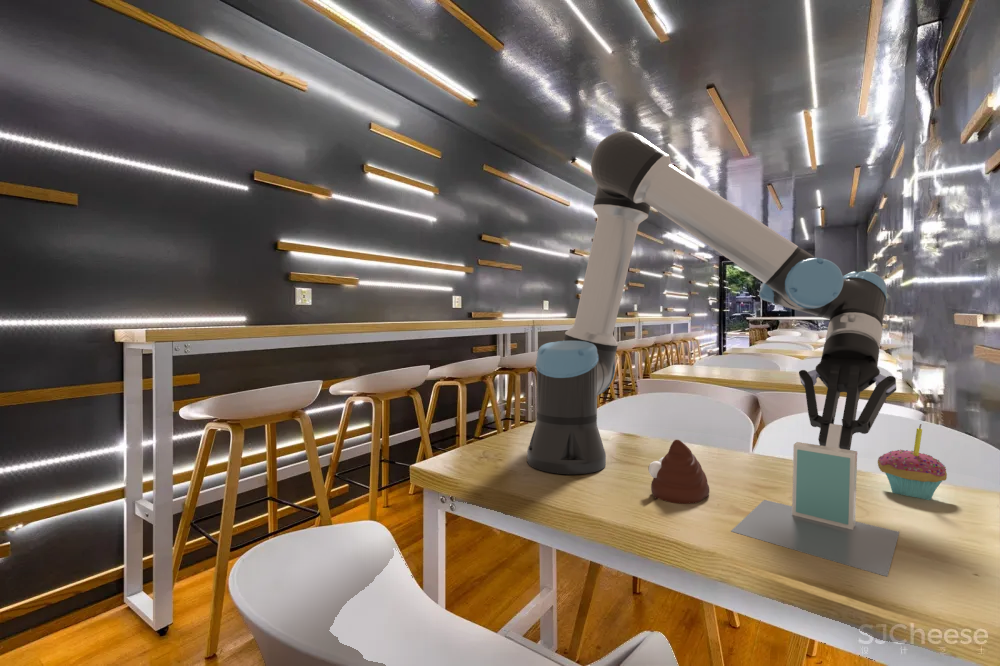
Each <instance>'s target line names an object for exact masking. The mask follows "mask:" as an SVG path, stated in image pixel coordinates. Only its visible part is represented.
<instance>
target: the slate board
mask: <svg viewBox="0 0 1000 666" xmlns="http://www.w3.org/2000/svg"><path fill="white" fill-rule="evenodd" d="M730 532H731V533H735V534H738V535H741V536H745V537H747V538H748V537H749V538H753V539H755V540H758V541H763V542H765V543H770V544H773V545H777V546H780V547H783V548H787V549H790V550H793V551H798V552H800V553H804V554H807V555H811V556H814V557H817V558H821V559H824V560H827V561H831V562H833V563H834V562H835V563H838V564H842V565H845V566H849V567H852V568H855V569H859V570H862V571H866V572H869V573H873V574H875V575H876V574H877V575H879V576H883V577H886V578H887V577H889V572H890V568H891V565H892V561H893V557H894V554H895V550H896V548H897V547H896V546H897V542H898V539H899V535H900V531H898V530H893V529H889V528H885V527H881V526H878V525H877V526H876V525H872V524H869V523H865V522H860V521H856V520H855V526H854V528H853V530H852V529H848V528H844V527H840V526H836V525H831V524H827V523H823V522H819V521H815V520H811V519H807V518H803V517H799V516H795V515H792V505H788V504H784V503H780V502H776V501H772V500H767V499H763V500H762V501H761V502H760V503H759V504H758V505H756V506H755V508H753V509H752V511H751V512H749V513H748V514H747V515H746V516H745V517H744V518H743V519H742V520H741V521H740V522H738V523H737V525H735V526H734V528H732V529H731V530H730Z"/></svg>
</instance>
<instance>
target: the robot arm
mask: <svg viewBox="0 0 1000 666" xmlns="http://www.w3.org/2000/svg"><path fill="white" fill-rule="evenodd" d="M590 170H591V174H592V178H593V181H595V183H596V184H597V187H596V193H595V195H594V196H595V197H594V201H593V205H592V209H593V211H594V212H595V214H596V216H597V220H596V225H595V230H594V233H593V239H592V243H591V248H590V253H589V257H588V261H587V265H586V270H585V275H584V279H583V283H582V284H583V285H582V286H581V287H582V289H581V293H580V298H579V300H578V306H577V310H576V315H575V320H574V323H573V326H572V327H571V328H569V329H568V330H566V331H565V333H564V337H563V340H558V341H552V342H551V341H550V342H547V343H544V344H541V345H540V347H539V348H538V349H537V353H536V355H537V356H536V360H535V367H536V422H535V427H534V429H533V432H532V434H531V435H532V436H531V438H530V441H529V445H528V447H527V454H526V457H527V458H526V460H527V461H526V462H527V463H528V465H529V466H530V467H531V468H533V469H536V470H538V471H542V472H546V473H549V474H560V475H582V474H583V475H584V474H592V473H595V472H599V471H601V470H603V469H605V467H606V464H607V463H606V462H607V460H606V457H607V455H606V453H607V452H606V450H605V447H604V444H603V440H602V436H601V433H600V431H599V426H598V396H600V395H601V394H603V393H604V392H605V391H606V390H608V388H609V387H610V385H611V384H612V382H613V380H614V377H615V373H616V365H615V360H616V359H615V358H616V355H617V350H618V347H619V343H618V342H617V340H616V338H615V336H614V331H615V327H616V322H617V318H618V314H619V310H620V306H621V301H622V297H623V293H624V288H625V285H626V279H627V276H628V271H629V268H630V262H631V259H632V254H633V251H634V245H635V241H636V237H637V233H638V228H639V225H640V224H641V223H642V222H643V221H645V220H647V219H648V218H649V213H650V210H651V208H653V209H654V210H656V211H657V212H658V213H660V214H662V215H663V216H664V217H666V218H667V219H669V220H670V221H672V222H673V223H675V224H676V225H677V226H679V227H681V228H682V229H683V230H685V231H687V232H688V233H689V234H691V235H692V236H694V237H696V239H699V240H700V241H701V242H703V243H704V244H706V245H707V246H709V247H710V248H712V249H713V250H715V251H716V252H717V253H719V254H721V255H722V256H724V257H725V258H726V259H728V260H730V261H731V262H732V263H734V264H735V265H737V266H738V267H740V268H741V269H743V270H744V271H746V272H747V273H748V274H750V275H751V276H753V277H755V278H756V279H758V280H759V281H761V282H762V284H761V285H760V289H759V292H758V295H759V298H760V299H761V300H763V301H765V302H768V303H771V304H773V305H775V306H781V307H784V308H787V309H792V310H796V311H799V312H803V313H806V314H811V315H814V316H817V317H819V318H824V319H827V320H829V323H828V326H827V330H826V335H825V342H824V345H823V349H822V354H821V358H820V362H819V363H818V364H817V365H816V366H815V369H812V370H810V371H807V370H805V369H802V370H799V372H798V375H799V380H800V383H801V385H802V386H803V388H804V389H805V391H804V392H805V399H806V405H807V406H806V407H807V414H808V415H807V416H808V419H809V424H810V426H812V427H813V428H819V434H818V443H819V444H818V445H820V446H827V447H833V448H840V449H846V450H851V446H852V442H853V441H852V440H853V436H854V435H855V434H856V433H857V434H859V433H860V434H863V435H866V434H868V433H869V432H870V431H871V428H872V427H873V424H874V423H875V421H876V419H877V417H878V416H879V413H880V412H881V410H882V408H883V405H884V404H885V403H886V400H887V398H888V397H889V396H891V395H892V394H893V393H895V392H896V391H897V379H896V377H895V376H893V375H887V376H885V375H883V374H881V371H880V369H879V367H878V364H879V357H880V347H881V342H882V335H883V326H884V325H883V323H884V318H885V313H886V307H887V304H888V288H887V284H886V281H885V280H884V279H883V278H882V277H881V276H879V275H878V274H877V273H874V272H872V271H871V272H870V271H865V270H863V271H851V272H849V273H847V274H845V275H843V272H842V271H841V269H840V267H839V266H838V265H837V264H836V263H835V262H833V261H831V260H829V259H826V258H822V257H816V256H814V255H812V254H811V253H809V252H807V251H806V249H803V248H801V247H799V246H798V245H797V244H795V243H794V242H792V241H791V240H789V239H788V238H786V237H785V236H783V235H781V234H780V233H778V232H777V231H775V230H773V229H772V228H771V227H769V226H767V225H766V224H764V223H763V222H761V221H760V220H759V219H757V218H755V217H754V216H751V215H750V214H749V213H748V212H746V211H744V210H743V209H741V208H739V207H738V206H736V205H735V204H733V203H732V202H730V201H729V200H728V199H725V198H723V196H721V195H719V194H717V192H715V191H713V190H711V189H710V188H709V187H707V186H705V185H704V184H702V183H701V182H699V181H697V180H696V179H694V178H693V177H691V176H690V175H688V174H687V173H685V172H683V171H682V170H680V169H679V168H678V167H676V166H674V165H673V164H672V162H671V156H670V154H668V153H666V152H664V151H663V150H661V149H660V148H659V147H657V146H656V145H654V144H653V143H651V142H650V141H649V140H647V139H646V138H645V137H644V136H642V135H640V134H638V133H635V132H633V131H626V130H624V131H618V132H612V133H611V134H609V135H608V136H606V137H605V138H603V139H602V140H601V141H600V142H599V143H598V145H597V146H596V147H595V149H594V151H593V154H592V157H591V161H590ZM818 378H819V379H820V381H821V382H822V383H823V384H824V386H825V387H826V388H827V390H826V391H827V392H826V396H825V401H824V405H823V411H822V415H819V410H818V409H819V408H818V404H817V403H818V402H817V396H816V391H815V385H816V384H817V383H818V381H817V379H818ZM874 384H875V387H874V389H873V391H872V393H871V394H870V396H869V398H868V400H867V402H866V403H865V406H864V408H863V409H862V411H861V413H860V415H859V417H858V418H857V419H856V417H857V411H858V404H859V401H860V396H861V393H862V392H863V391H865V390H866V389H868V388H869V387H871V386H872V385H874ZM841 393H846V397H845V403H844V408H843V414H842V418H841V424H836V423H835V420H836V413H837V408H838V403H839V399H840V395H841Z"/></svg>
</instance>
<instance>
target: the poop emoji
mask: <svg viewBox="0 0 1000 666" xmlns="http://www.w3.org/2000/svg"><path fill="white" fill-rule="evenodd" d="M648 473H649V475H650V476H651V477H652V478H653V479H652V480H651V485H650V490H651V493H652V496H653V497H654V498H655V499H656V500H658V499H659V500H662V501H665V502H668V503H673V504H681V505H682V504H684V505H689V504H690V505H692V504H697V503H700V502H702V501H703V500H704V499H706V498H708V496H709V494H710V485H709V484H708V478H707V475H706V473H705V471H704V470H703V468H702V465H701V463H700V462H699V460H697V458H696V456H695V454H693V451H692V450H691V449H690V448H689V446H687V445H686V444H685V443H684V442H682V440H680V439H674V440H673V441H672V443H671V444H670V447H669V449H668V452H667V453H666V454H665V455H664V456H663V457H660V458H659V459H658V460H653V461H652V462H650V464H649V465H648Z"/></svg>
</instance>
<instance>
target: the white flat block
mask: <svg viewBox="0 0 1000 666" xmlns="http://www.w3.org/2000/svg"><path fill="white" fill-rule="evenodd" d="M792 459H793V461H792V464H793V465H792V504H791V506H792V515H795V516H799V517H803V518H807V519H811V520H815V521H819V522H823V523H827V524H831V525H836V526H840V527H844V528H848V529H852V530H853V528H854V526H855V521H856V513H857V512H856V511H857V509H856V508H857V507H856V504H857V479H858V478H857V474H858V473H857V471H858V469H857V468H858V451H857V450H852V449H850V450H846V449H840V448H833V447H827V446H820V444H813V443H808V442H802V441H801V442H800V441H799V442H798V441H796V442H795V443H794V444H793V457H792Z"/></svg>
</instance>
